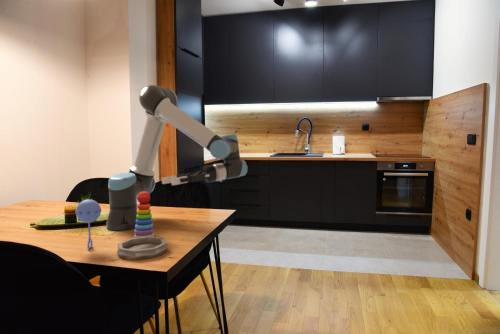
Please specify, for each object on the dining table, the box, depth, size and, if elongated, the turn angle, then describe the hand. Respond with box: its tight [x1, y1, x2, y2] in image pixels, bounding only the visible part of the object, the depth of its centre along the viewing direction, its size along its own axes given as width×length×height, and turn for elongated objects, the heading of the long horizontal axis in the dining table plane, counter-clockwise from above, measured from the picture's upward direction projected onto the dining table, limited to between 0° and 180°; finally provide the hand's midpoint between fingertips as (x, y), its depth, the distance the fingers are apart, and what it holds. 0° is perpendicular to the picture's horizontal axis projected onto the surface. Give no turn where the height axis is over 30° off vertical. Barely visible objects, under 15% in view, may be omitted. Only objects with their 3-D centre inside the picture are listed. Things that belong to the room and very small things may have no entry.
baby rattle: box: [75, 198, 102, 250], centre depth 135 cm, size 9×9×18 cm
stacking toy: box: [133, 191, 156, 238], centre depth 147 cm, size 8×8×19 cm
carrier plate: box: [116, 236, 168, 261], centre depth 131 cm, size 17×17×3 cm
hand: (166, 181), depth 152 cm, fingers open, 13 cm apart
